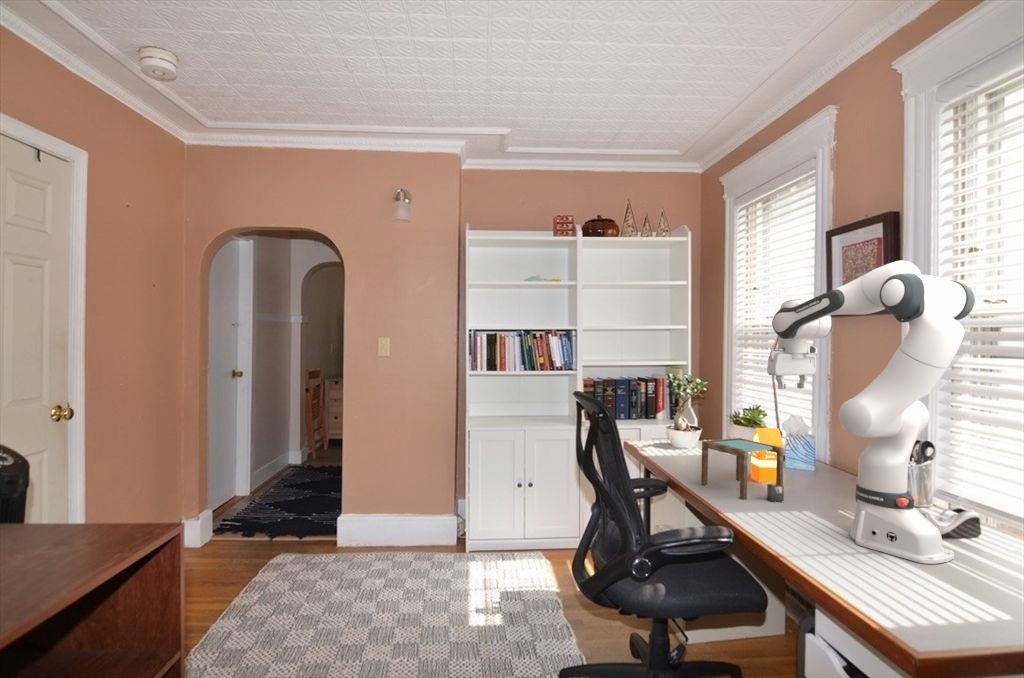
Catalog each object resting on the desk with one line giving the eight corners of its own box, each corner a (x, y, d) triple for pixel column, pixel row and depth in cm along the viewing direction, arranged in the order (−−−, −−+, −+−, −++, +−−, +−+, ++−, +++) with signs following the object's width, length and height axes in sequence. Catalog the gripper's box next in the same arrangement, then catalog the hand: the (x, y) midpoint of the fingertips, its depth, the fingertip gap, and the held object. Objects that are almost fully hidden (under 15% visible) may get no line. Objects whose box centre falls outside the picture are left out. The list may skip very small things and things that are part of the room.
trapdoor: (772, 449, 191) (772, 446, 191) (743, 452, 185) (743, 449, 185) (739, 442, 204) (739, 439, 204) (711, 444, 198) (711, 441, 198)
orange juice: (782, 483, 203) (784, 430, 203) (759, 483, 203) (760, 429, 203) (773, 478, 211) (774, 426, 211) (750, 477, 211) (751, 426, 211)
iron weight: (786, 501, 181) (787, 486, 181) (776, 503, 179) (776, 488, 179) (773, 497, 185) (774, 482, 185) (763, 499, 183) (763, 484, 183)
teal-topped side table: (782, 493, 190) (783, 447, 190) (743, 499, 182) (744, 451, 182) (738, 480, 207) (739, 438, 207) (701, 484, 199) (702, 441, 199)
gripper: (779, 348, 177) (778, 390, 178) (820, 348, 186) (819, 388, 186) (762, 347, 183) (761, 388, 183) (803, 348, 192) (802, 387, 192)
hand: (791, 388), depth 185 cm, fingers open, 8 cm apart
